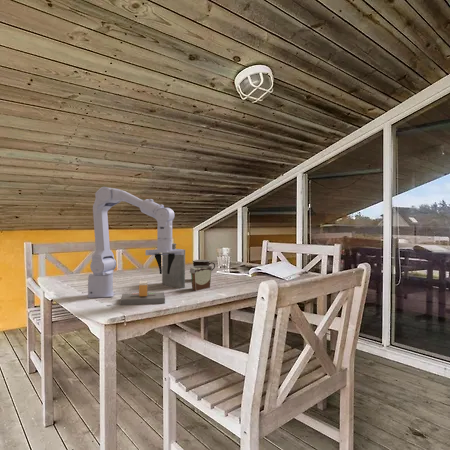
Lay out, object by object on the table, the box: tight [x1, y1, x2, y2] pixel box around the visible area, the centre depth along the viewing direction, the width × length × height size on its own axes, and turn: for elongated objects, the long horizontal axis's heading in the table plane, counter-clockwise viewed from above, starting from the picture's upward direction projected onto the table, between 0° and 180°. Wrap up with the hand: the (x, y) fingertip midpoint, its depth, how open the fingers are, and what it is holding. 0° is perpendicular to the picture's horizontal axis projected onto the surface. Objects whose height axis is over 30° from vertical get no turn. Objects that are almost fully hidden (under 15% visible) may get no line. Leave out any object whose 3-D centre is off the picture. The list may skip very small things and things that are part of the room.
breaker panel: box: [120, 291, 166, 306], centre depth 134 cm, size 16×10×2 cm, turn 102°
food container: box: [189, 265, 213, 292], centre depth 159 cm, size 12×6×10 cm, turn 141°
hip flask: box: [161, 242, 186, 289], centre depth 165 cm, size 16×4×20 cm, turn 44°
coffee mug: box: [192, 259, 216, 271], centre depth 182 cm, size 12×9×10 cm
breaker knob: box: [138, 280, 148, 296], centre depth 134 cm, size 3×5×5 cm, turn 12°
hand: (164, 273), depth 136 cm, fingers open, 2 cm apart
